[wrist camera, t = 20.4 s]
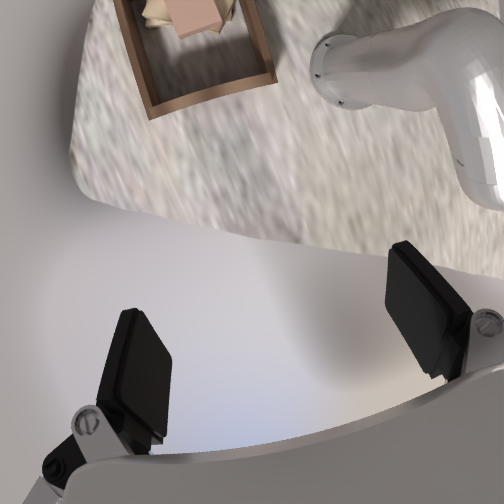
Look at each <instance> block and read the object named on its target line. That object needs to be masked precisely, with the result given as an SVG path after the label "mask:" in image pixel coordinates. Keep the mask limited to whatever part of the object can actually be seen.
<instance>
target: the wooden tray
mask: <svg viewBox="0 0 504 504" xmlns="http://www.w3.org/2000/svg"><path fill="white" fill-rule="evenodd" d="M131 1H132V0H113V2H114V6H115V10H116V14H117V17H118V21H119V25H120V28H121V32H122V36H123V39H124V43H125V46H126V50H127V53H128V56H129V60H130V63H131V66H132V70H133V73H134V76H135V79H136V82H137V86H138V89H139V92H140V95H141V98H142V101H143V104H144V107H145V110H146V113H147V116H148V119H149V120H152V119H155V118H158V117H160V116H163V115H166V114H168V113H171V112H174V111H177V110H180V109H183V108H186V107H189V106H192V105H195V104H198V103H201V102H204V101H208V100H211V99H214V98H218V97H221V96H225V95H229V94H232V93H236V92H240V91H244V90H248V89H252V88H257V87H261V86H266V85H270V84H274V83H278V80H277V76H276V73H275V69H274V65H273V62H272V58H271V54H270V51H269V47H268V44H267V40H266V37H265V34H264V30H263V27H262V24H261V21H260V17H259V14H258V11H257V8H256V5H255V2H254V0H239V3H240V6H241V9H242V12H243V15H244V18H245V22H246V25H247V28H248V31H249V35H250V38H251V41H252V45H253V48H254V52H255V55H256V59H257V62H258V66H259V69H260V73H261V75H256V76H252V77H248V78H243V79H239V80H235V81H231V82H228V83H224V84H220V85H217V86H213V87H210V88H206V89H203V90H200V91H197V92H194V93H190V94H187V95H184V96H181V97H179V98H176V99H173V100H170V101H167V102H164V103H162V104H161V102H160V99H159V95H158V92H157V89H156V86H155V83H154V80H153V76H152V73H151V70H150V67H149V63H148V60H147V57H146V54H145V50H144V47H143V44H142V40H141V37H140V33H139V30H138V26H137V23H136V19H135V16H134V12H133V9H132V5H131Z"/></svg>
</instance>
